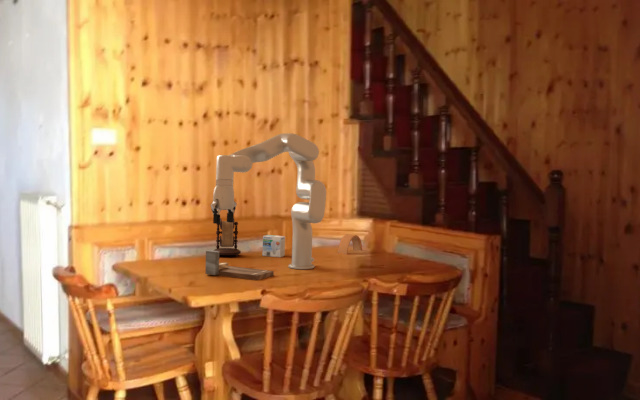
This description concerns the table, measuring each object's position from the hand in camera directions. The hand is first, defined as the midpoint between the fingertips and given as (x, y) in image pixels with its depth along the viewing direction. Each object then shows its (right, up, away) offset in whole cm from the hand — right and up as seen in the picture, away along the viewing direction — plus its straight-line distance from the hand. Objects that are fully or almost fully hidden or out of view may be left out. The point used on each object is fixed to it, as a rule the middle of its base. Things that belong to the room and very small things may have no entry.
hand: (223, 222), depth 290 cm
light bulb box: (+17, -20, +68) cm, 73 cm away
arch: (+59, -20, +91) cm, 110 cm away
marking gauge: (-3, -22, +7) cm, 24 cm away
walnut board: (+6, -23, +7) cm, 25 cm away
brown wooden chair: (-7, -20, +63) cm, 66 cm away
